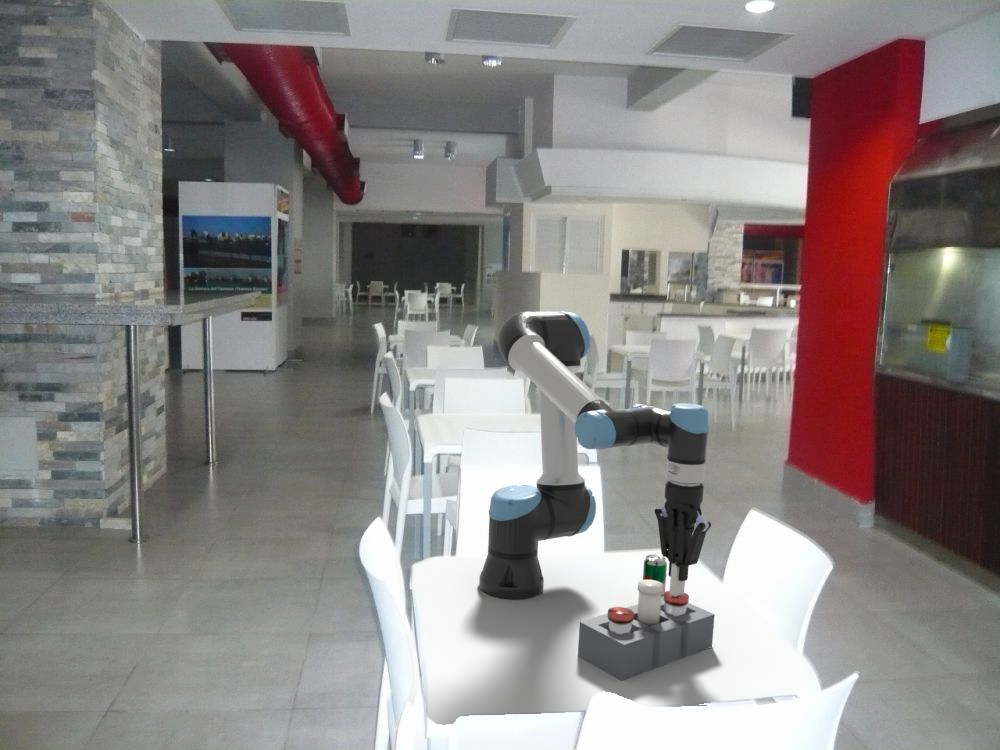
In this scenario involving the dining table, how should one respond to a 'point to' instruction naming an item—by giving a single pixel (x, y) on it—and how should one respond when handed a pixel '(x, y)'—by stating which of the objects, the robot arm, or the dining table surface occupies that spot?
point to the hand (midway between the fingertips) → (676, 594)
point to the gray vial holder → (645, 641)
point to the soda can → (655, 569)
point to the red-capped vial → (620, 620)
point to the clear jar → (676, 604)
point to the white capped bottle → (649, 602)
